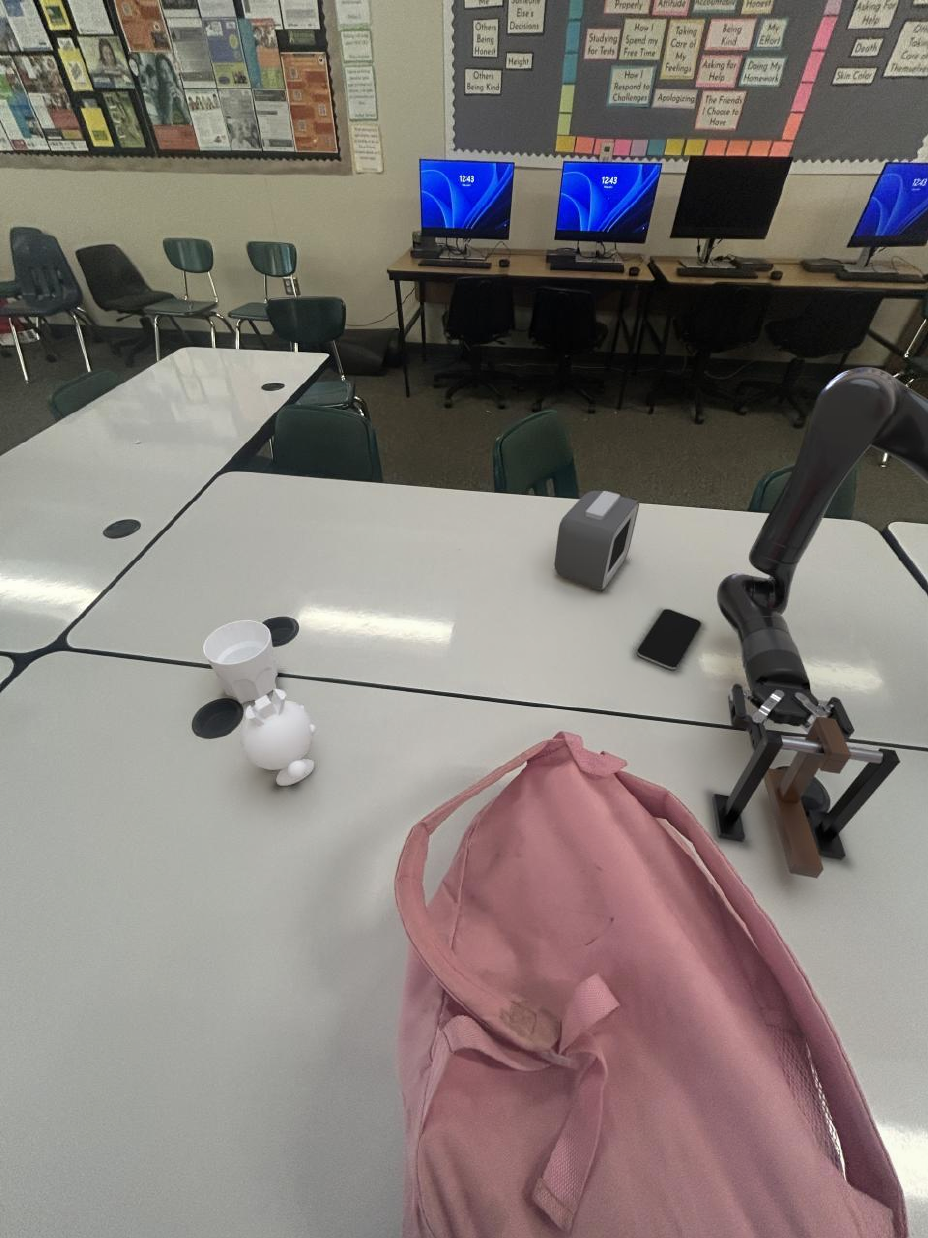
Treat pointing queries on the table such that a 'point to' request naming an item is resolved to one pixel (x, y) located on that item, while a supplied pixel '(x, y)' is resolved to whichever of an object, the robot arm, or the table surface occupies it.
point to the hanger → (790, 789)
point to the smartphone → (669, 639)
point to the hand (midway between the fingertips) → (801, 758)
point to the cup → (242, 659)
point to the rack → (820, 823)
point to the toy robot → (278, 737)
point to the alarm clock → (595, 538)
